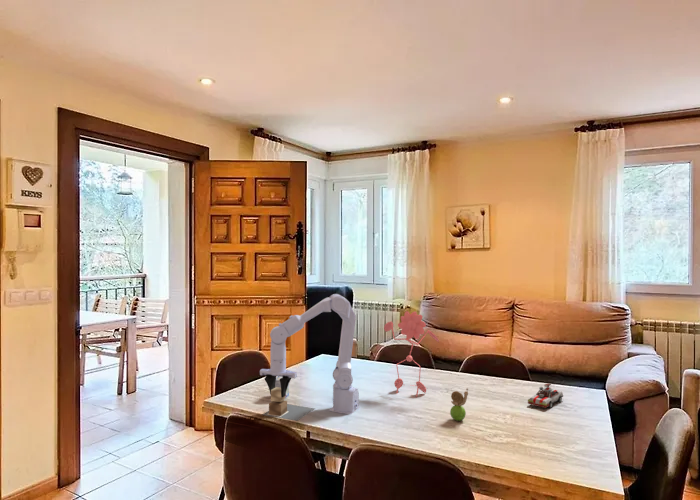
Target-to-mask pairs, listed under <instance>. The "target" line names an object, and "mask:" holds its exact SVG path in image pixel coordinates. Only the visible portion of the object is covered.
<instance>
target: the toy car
mask: <svg viewBox="0 0 700 500" xmlns="http://www.w3.org/2000/svg"><path fill="white" fill-rule="evenodd" d="M550 386H552V383H550V382H548V383H545V384H544V386H540V387H539V390H538V391H537V393H535V394H534V395H533V396H531V397H529V399H527V404H529V405H532V406H536V407H541V408H545V409H546V408H548V409H553V404H554V403H555V402H556V403H560V404H561V403H562V402H563V397H564V395H563V394H564V393H563V391H562V390H559V389H558V390H557V389H555V388H551V387H550Z"/></svg>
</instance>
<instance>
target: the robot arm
mask: <svg viewBox="0 0 700 500" xmlns="http://www.w3.org/2000/svg"><path fill="white" fill-rule="evenodd" d="M352 307H353V306H352V305H351V302H350V301H349V300H348V299H347V298H345V297H344V296H342V295H341V294H339V293H333V294H331V295H330V296H329V297H328V296H327V297H325V298H323V299H322V300H321V301H319V302H317V303H316V304H314V305H313V306H312V307H310V308H309V309H308V310H306V311H305V312H303V313H302V314H300V315H299V314H294V315H290V316H288V317H289V318H288V319H287V320H285V321H284V322H282V323H281V322H279V323H278V326H274V327H273V328H272V329H271V330H270V333H269V336H270V339H271V340H270V368H261V369H260V370H259V375H260V376H265V377H264V380H265V382H266V383H265V384H267V386H268V390H269V393H270V396H271V390H272V389H274V388H275V382H276V378H277V377H278V376H279V377H283V378H281V379H280V384H281V396H282V397H284V396H285V395H286V391H287V387H288V384H289V385H290V383H291V380H292V379H293V380H294V379H297V377H298V373H297V371H291V370H288V369H287V346H286V341H287V338H289V337H291V336H293V335H295V334H296V333H297V332H299V331H300V330H302V329H303V328H304V326H305V323H307V322H308V321H310V320H311V319H314V318H315V317H317V316H319V315H320V314H321V313H331V312H332V311H333V312H335V313H337V314H338V316H339V317H340V318H341V319H342V324H341V331H340V341H339V349H338V358H337V361H336V364H335V368H334V370H333V372H332V378H333V379H334V383H333V385H332V401H333V402H332V407H331V408H330V409H328V411H329V412H336V413H341V414H346V415H352V414H354V413H355V412H356V411H357V410H359V409H360V406H359V403H360V402H359V400H360V399H359V390H358V389H359V388H357V387H356V388H355V387H353V381H354V379H353V376H352V363H351V361H352V355H353V354H352V352H353V346H354V338H355V337H354V335H355V328H356V320H357V316H356V314H355V312H354V310H353V308H352Z"/></svg>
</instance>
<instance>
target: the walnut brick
mask: <svg viewBox="0 0 700 500" xmlns="http://www.w3.org/2000/svg"><path fill="white" fill-rule="evenodd" d="M287 404H288V400H286V399H284V400H283V401H281V402H276V401H270V402H269V403H268V411H269V414H270V415H278V416H282V415H283V414H284V413H286V412H287Z"/></svg>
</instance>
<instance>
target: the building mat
mask: <svg viewBox="0 0 700 500" xmlns="http://www.w3.org/2000/svg"><path fill="white" fill-rule="evenodd" d="M315 410H316V408H314V407H308V406H303V405H302V406H300V405H295V404H290V403H287V412H286V413H284V414H283V415H282V416H278V415H270V414H269V410H267V411H266V412H264V413H263V414H261V416H267V417H273V418H277V419H278V418H279V419H285V420H290V421H294V422H297V421H299V420H301V419H302V418H304V417H305V416H307V415H308V414H310V413H312V411H315Z"/></svg>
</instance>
